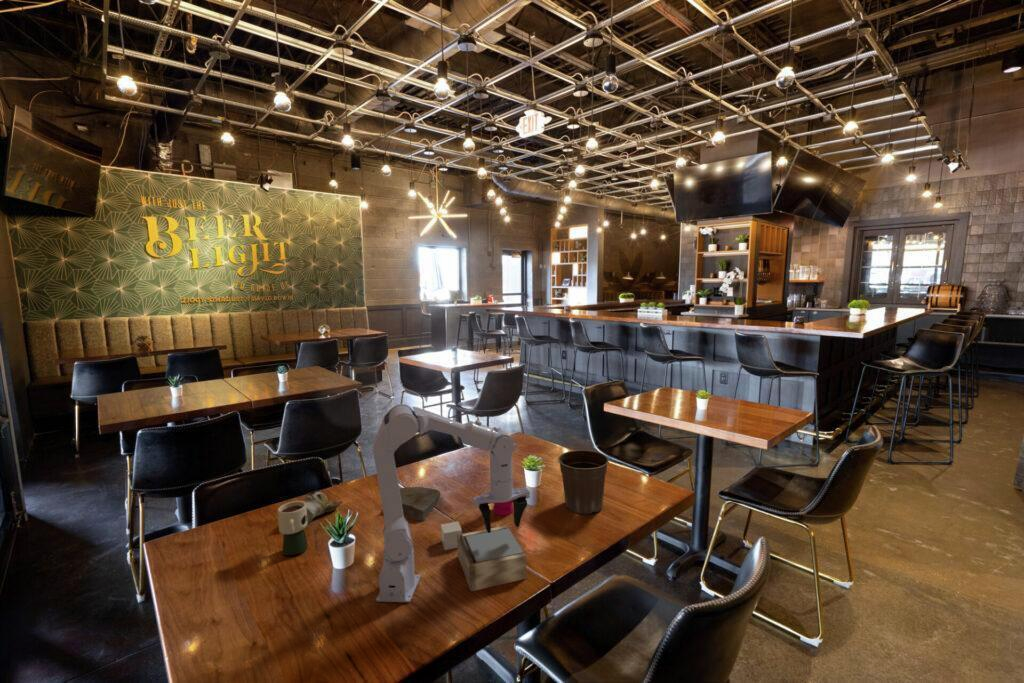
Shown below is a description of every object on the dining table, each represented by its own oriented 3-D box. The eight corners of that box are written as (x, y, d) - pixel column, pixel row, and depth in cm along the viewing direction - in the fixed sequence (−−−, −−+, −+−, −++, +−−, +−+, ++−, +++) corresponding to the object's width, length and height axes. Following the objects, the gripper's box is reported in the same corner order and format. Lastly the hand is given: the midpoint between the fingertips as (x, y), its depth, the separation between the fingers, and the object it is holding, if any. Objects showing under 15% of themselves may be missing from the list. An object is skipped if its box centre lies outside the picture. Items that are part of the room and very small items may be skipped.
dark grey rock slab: (423, 522, 139) (423, 510, 138) (381, 518, 142) (380, 505, 142) (444, 498, 155) (443, 486, 154) (405, 494, 158) (404, 483, 158)
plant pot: (555, 515, 141) (554, 466, 139) (561, 492, 157) (561, 448, 155) (607, 520, 137) (608, 470, 135) (609, 497, 153) (609, 451, 151)
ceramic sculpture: (282, 497, 138) (317, 480, 152) (282, 525, 138) (318, 505, 153) (309, 502, 135) (343, 484, 149) (310, 530, 135) (344, 510, 149)
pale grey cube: (444, 550, 123) (443, 533, 123) (441, 541, 128) (440, 524, 128) (462, 546, 125) (461, 530, 124) (458, 537, 130) (458, 521, 129)
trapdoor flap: (476, 566, 108) (476, 562, 108) (465, 540, 119) (465, 536, 119) (523, 555, 112) (523, 552, 111) (508, 531, 123) (508, 528, 123)
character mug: (308, 558, 121) (305, 513, 119) (279, 565, 118) (275, 518, 117) (310, 538, 131) (307, 496, 129) (283, 544, 128) (279, 500, 127)
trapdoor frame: (470, 591, 106) (470, 564, 105) (457, 556, 121) (457, 532, 120) (526, 578, 111) (525, 552, 110) (507, 545, 125) (506, 522, 124)
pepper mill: (489, 508, 147) (487, 449, 144) (509, 503, 149) (508, 446, 147) (496, 518, 140) (494, 456, 138) (517, 513, 143) (516, 453, 140)
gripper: (522, 467, 120) (523, 515, 122) (470, 475, 115) (471, 525, 117) (532, 477, 113) (533, 528, 115) (476, 486, 109) (478, 539, 110)
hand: (502, 528), depth 116 cm, fingers open, 7 cm apart
